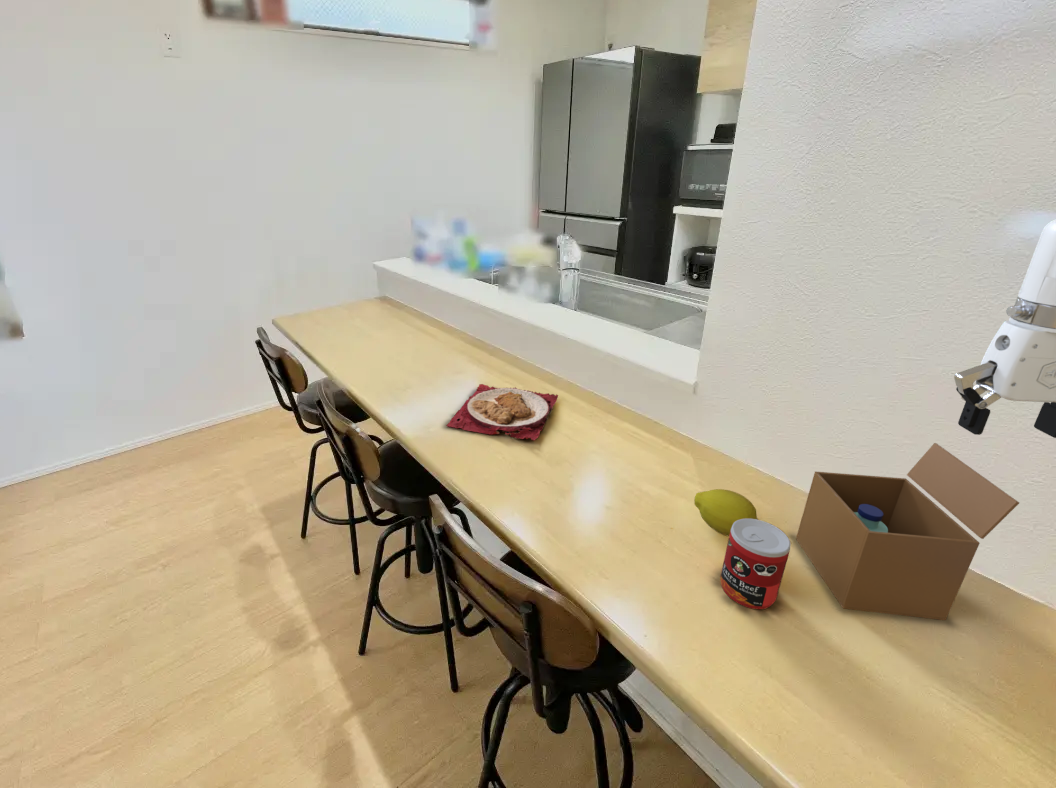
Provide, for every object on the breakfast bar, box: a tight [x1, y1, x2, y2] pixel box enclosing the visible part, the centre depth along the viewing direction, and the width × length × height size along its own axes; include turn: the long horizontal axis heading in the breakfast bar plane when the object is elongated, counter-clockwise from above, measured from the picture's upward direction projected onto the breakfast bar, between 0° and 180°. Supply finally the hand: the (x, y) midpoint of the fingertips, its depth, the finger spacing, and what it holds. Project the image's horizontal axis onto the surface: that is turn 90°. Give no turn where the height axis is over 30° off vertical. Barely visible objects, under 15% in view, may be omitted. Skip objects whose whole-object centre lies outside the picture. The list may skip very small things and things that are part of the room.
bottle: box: [854, 504, 888, 533], centre depth 79 cm, size 6×6×12 cm
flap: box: [906, 442, 1020, 540], centre depth 73 cm, size 7×15×1 cm
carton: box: [795, 471, 981, 621], centre depth 78 cm, size 14×15×14 cm
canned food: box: [719, 518, 791, 610], centre depth 76 cm, size 8×8×11 cm
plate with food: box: [445, 383, 559, 441], centre depth 133 cm, size 24×26×4 cm
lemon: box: [694, 488, 759, 537], centre depth 90 cm, size 11×8×8 cm
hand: (1007, 431), depth 69 cm, fingers open, 9 cm apart
